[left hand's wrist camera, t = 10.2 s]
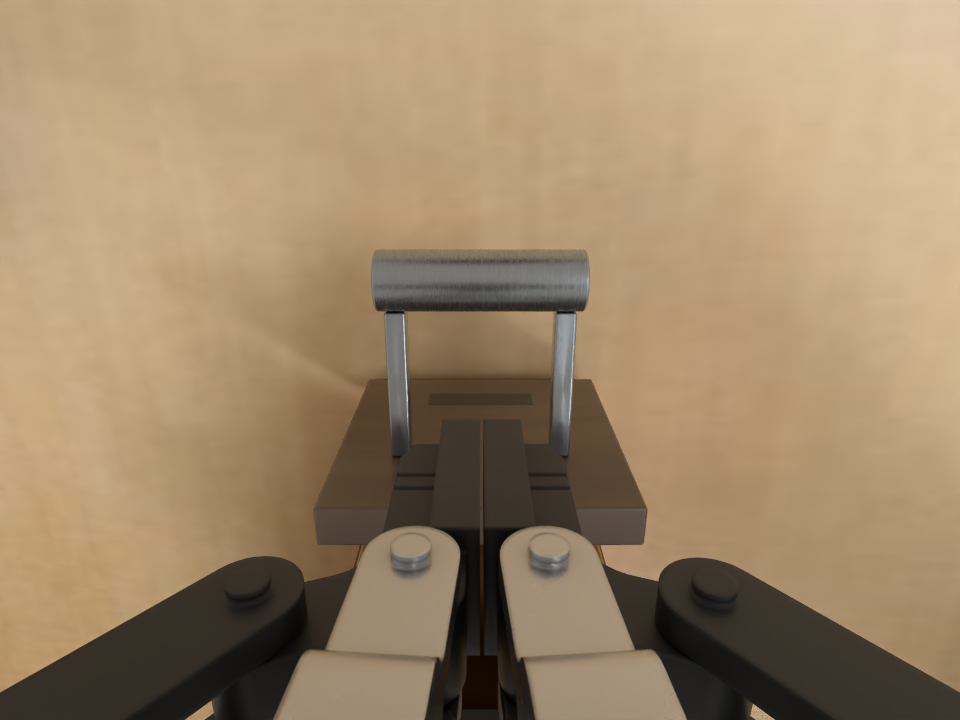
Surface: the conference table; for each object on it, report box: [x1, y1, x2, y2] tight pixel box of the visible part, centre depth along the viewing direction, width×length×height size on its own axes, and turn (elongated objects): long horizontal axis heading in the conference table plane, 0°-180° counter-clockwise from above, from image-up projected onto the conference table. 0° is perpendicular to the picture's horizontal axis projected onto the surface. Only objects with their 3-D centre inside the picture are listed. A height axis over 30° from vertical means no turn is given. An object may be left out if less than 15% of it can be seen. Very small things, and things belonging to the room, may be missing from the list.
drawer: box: [314, 250, 647, 709], centre depth 23 cm, size 26×9×9 cm, turn 0°
